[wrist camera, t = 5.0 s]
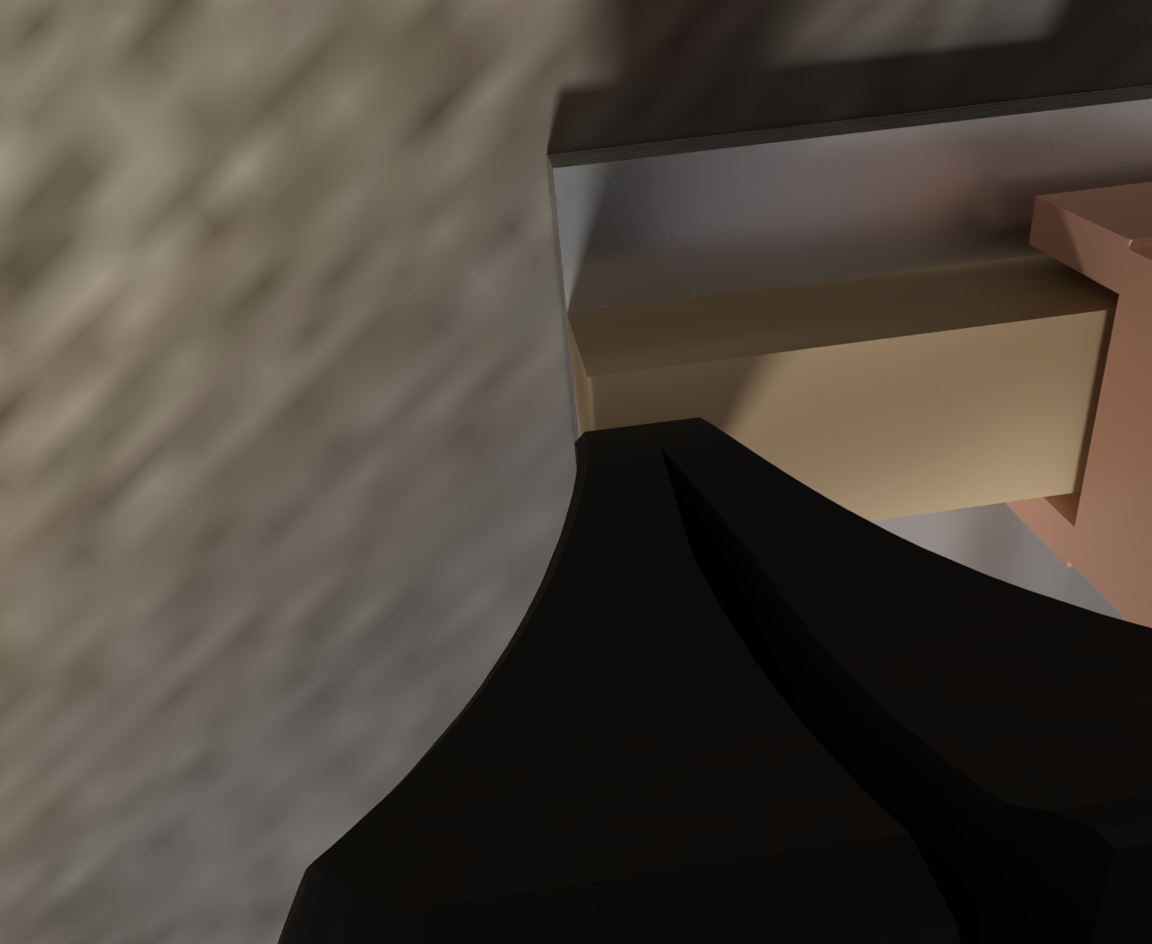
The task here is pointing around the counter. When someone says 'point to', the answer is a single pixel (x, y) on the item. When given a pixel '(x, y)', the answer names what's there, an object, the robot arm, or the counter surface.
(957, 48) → the counter surface
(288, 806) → the counter surface
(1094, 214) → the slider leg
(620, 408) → the bar
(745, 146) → the flange plate
